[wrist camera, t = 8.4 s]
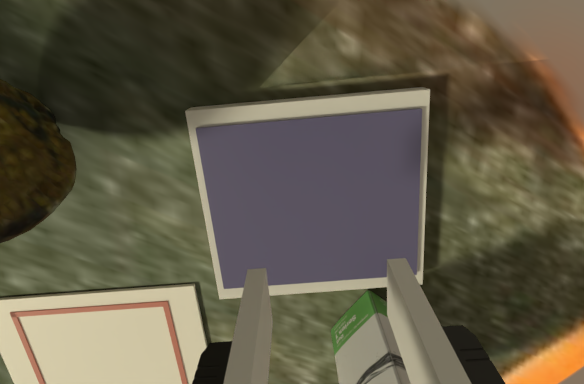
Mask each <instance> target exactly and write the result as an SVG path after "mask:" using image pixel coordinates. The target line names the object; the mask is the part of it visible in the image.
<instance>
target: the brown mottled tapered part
mask: <svg viewBox="0 0 584 384" xmlns="http://www.w3.org/2000/svg"><path fill="white" fill-rule="evenodd" d="M75 178H76V162H75V156H74V153H73V150H72V147H71V143H70V142H69V141H68V140H67V139H65V138H64V137H63V136H62V135H61V134H60V129H59V128H58V126H57V125H56V122H55V117H54V115H53V113H52V112H51V110H50V109H49V108H47V107H46V106H44V105H43V104H42V103H41V102H40V101H39V100H38V99H36V98H35V97H34V96H32V95H31V94H29V93H27V92H25V91H22V90H20V89H17V88H14V87H13V86H11V85H10V84H9V83H7V82H6V81H3V80H1V79H0V243H2V242H5V241H8V240H10V239H12V238H15V237H17V236H19V235H21V234H23V233H25V232H27V231H29V230H31V229H32V228H34V227H35V226H36V225H38V224H39V223H40V222H42V221H43V220H44V219H45V218H47V217H48V216H49V215H50V214H51V213H53V212H54V210H55V209H56V208H57V207H58V206H59V205H60V203H61V202H62V201H63V200H64V199H65V197H66V196H67V195H68V194H69V192H70V191H71V190H72V188H73V185H74V183H75Z"/></svg>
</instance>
